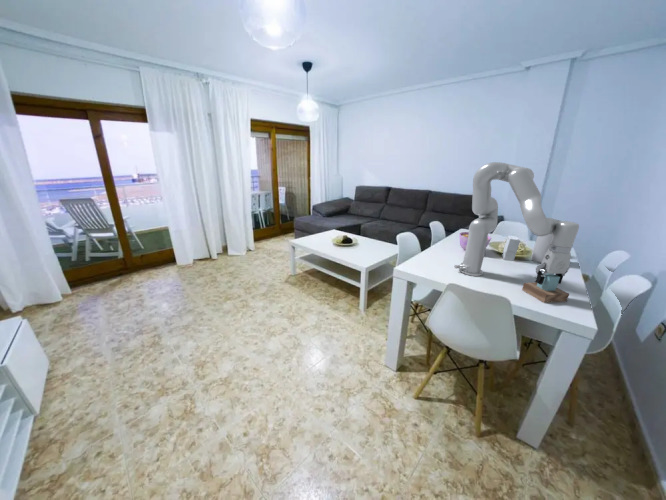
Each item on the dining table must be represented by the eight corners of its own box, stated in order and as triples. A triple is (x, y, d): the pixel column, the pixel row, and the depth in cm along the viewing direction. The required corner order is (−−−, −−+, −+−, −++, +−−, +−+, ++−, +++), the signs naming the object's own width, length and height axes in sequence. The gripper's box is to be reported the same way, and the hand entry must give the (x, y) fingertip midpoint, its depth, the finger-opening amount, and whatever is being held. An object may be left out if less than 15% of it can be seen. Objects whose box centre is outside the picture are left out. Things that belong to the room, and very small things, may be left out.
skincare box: (501, 255, 173) (507, 235, 168) (511, 257, 171) (517, 236, 166) (503, 259, 166) (509, 238, 161) (514, 261, 163) (520, 239, 158)
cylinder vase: (531, 261, 163) (542, 224, 155) (529, 256, 173) (540, 220, 165) (555, 266, 157) (569, 227, 149) (553, 260, 167) (565, 223, 158)
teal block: (545, 290, 117) (550, 277, 115) (536, 285, 122) (540, 272, 120) (555, 290, 118) (560, 277, 116) (545, 285, 123) (550, 272, 120)
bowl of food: (493, 253, 178) (497, 237, 174) (477, 258, 168) (481, 241, 164) (466, 245, 194) (469, 230, 190) (450, 249, 184) (453, 234, 180)
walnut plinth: (543, 302, 115) (546, 295, 113) (521, 290, 126) (524, 282, 125) (566, 301, 116) (569, 293, 115) (542, 289, 128) (545, 281, 126)
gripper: (550, 252, 109) (538, 287, 114) (584, 251, 111) (571, 285, 117) (535, 246, 116) (524, 280, 121) (567, 245, 118) (555, 278, 124)
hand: (547, 282), depth 119 cm, fingers open, 9 cm apart
